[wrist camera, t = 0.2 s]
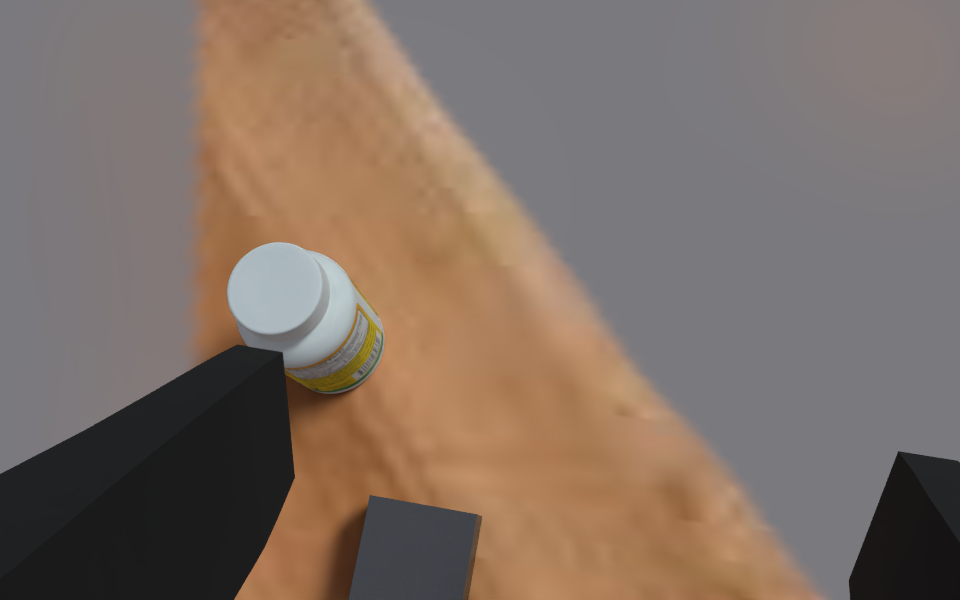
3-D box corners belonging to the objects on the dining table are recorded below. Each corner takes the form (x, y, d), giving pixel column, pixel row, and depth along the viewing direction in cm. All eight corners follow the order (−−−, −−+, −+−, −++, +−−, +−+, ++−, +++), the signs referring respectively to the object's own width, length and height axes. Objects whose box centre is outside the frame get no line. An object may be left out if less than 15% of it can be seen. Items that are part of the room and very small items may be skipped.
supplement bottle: (396, 379, 42) (350, 333, 33) (294, 407, 42) (221, 368, 33) (374, 282, 44) (325, 211, 35) (275, 308, 44) (201, 245, 35)
